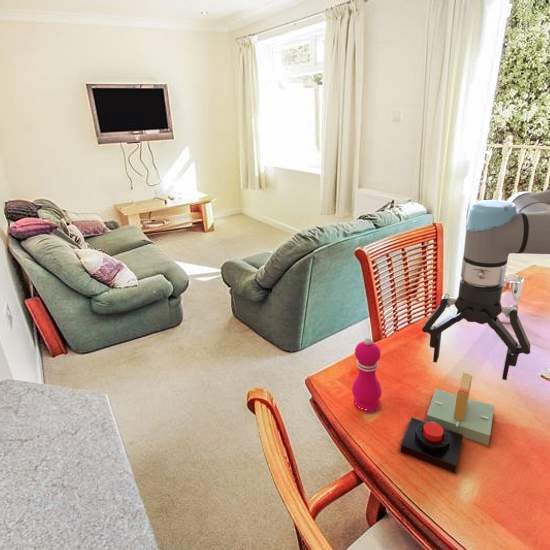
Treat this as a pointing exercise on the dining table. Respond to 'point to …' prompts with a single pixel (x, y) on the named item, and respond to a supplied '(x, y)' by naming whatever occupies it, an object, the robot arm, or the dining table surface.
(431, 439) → the button
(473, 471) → the dining table surface
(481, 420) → the plate
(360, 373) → the pepper mill
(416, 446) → the button block
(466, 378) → the handle
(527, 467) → the dining table surface
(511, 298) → the beer glass
